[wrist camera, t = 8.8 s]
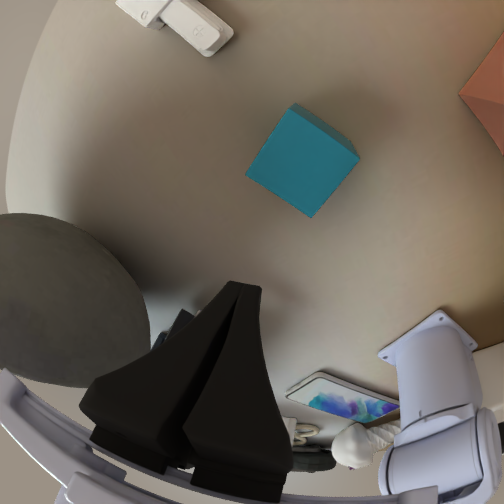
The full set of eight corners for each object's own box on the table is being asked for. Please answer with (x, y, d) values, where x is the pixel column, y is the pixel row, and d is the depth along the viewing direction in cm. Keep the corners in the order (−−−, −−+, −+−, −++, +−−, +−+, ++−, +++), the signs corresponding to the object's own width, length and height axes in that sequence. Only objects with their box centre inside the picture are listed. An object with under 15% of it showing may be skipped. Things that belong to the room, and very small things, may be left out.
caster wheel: (331, 480, 34) (249, 468, 40) (336, 468, 41) (266, 460, 47) (336, 452, 37) (253, 442, 42) (340, 444, 44) (270, 437, 50)
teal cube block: (351, 141, 15) (360, 159, 12) (312, 189, 17) (311, 218, 14) (294, 102, 14) (288, 107, 11) (259, 154, 17) (244, 175, 14)
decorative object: (293, 426, 37) (323, 431, 36) (294, 420, 37) (324, 425, 37) (276, 443, 43) (301, 447, 43) (277, 439, 44) (302, 442, 44)
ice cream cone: (436, 395, 33) (340, 441, 38) (430, 377, 30) (320, 429, 35) (451, 431, 26) (346, 477, 32) (448, 419, 23) (326, 472, 29)
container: (442, 387, 27) (451, 476, 16) (454, 356, 23) (473, 464, 13) (489, 372, 24) (505, 456, 14) (507, 339, 20) (534, 436, 10)
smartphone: (318, 374, 27) (403, 406, 29) (318, 368, 28) (403, 400, 29) (281, 397, 31) (365, 424, 33) (282, 391, 32) (365, 419, 33)
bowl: (-70, 144, 5) (-103, 345, 3) (226, 257, 19) (197, 397, 17) (-20, 201, 19) (-39, 289, 17) (123, 251, 33) (107, 328, 31)
